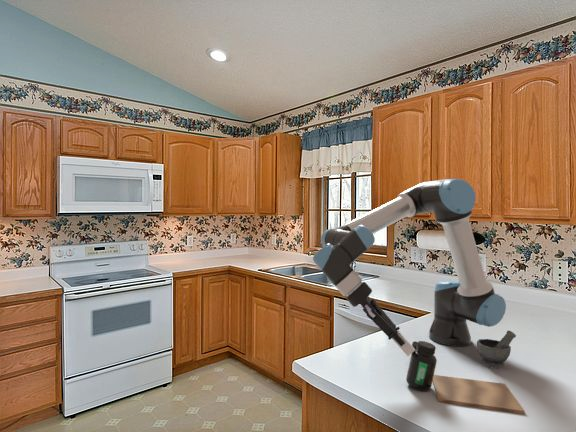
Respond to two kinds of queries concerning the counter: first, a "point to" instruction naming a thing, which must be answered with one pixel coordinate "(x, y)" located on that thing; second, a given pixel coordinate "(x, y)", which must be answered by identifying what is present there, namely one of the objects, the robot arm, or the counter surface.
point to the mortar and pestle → (495, 350)
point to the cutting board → (475, 394)
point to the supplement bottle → (422, 366)
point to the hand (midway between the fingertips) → (411, 352)
